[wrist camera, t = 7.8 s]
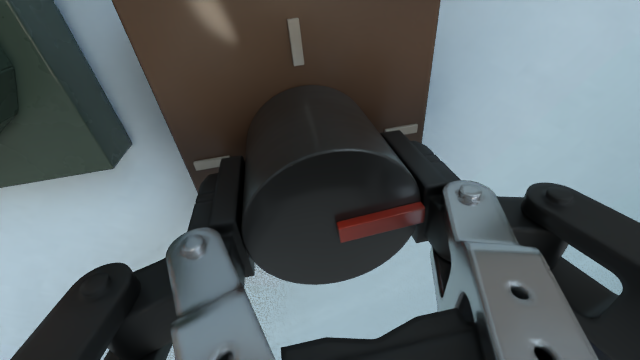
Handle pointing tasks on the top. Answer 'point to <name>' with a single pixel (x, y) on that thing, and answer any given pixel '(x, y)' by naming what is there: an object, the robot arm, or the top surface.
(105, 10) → the top surface
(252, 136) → the dial knob
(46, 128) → the button box
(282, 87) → the dial base block
